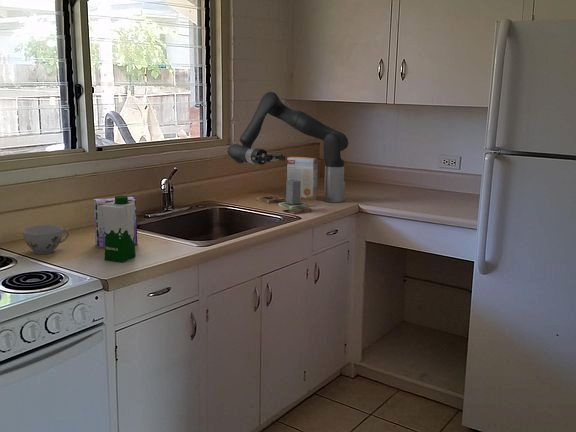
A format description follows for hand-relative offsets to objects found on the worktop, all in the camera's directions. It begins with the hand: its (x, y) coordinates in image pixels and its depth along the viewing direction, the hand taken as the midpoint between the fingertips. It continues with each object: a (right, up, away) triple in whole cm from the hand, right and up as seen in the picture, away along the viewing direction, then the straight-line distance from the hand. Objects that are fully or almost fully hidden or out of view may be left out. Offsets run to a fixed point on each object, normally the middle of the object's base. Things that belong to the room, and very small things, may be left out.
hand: (277, 158), depth 281 cm
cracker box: (+12, -19, +20) cm, 30 cm away
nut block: (+7, -22, -5) cm, 24 cm away
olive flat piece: (+2, -22, +1) cm, 22 cm away
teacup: (-76, -38, -76) cm, 114 cm away
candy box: (-55, -37, -66) cm, 94 cm away
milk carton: (-49, -40, -83) cm, 105 cm away
